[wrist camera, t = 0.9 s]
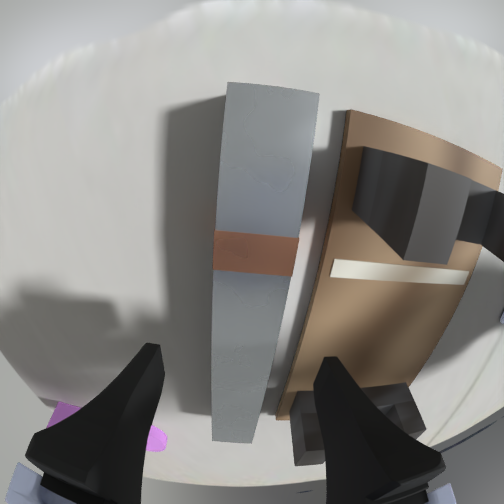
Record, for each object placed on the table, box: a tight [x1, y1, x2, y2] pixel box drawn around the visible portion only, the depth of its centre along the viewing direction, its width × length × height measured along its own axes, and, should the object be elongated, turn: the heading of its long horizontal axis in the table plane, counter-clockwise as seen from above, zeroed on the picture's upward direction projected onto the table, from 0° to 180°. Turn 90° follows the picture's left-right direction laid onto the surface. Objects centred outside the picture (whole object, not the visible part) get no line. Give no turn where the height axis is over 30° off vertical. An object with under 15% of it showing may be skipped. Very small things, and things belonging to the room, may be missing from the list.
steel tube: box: [211, 82, 319, 443], centre depth 14 cm, size 3×22×3 cm, turn 174°
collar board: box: [276, 110, 504, 466], centre depth 13 cm, size 11×22×6 cm, turn 174°
